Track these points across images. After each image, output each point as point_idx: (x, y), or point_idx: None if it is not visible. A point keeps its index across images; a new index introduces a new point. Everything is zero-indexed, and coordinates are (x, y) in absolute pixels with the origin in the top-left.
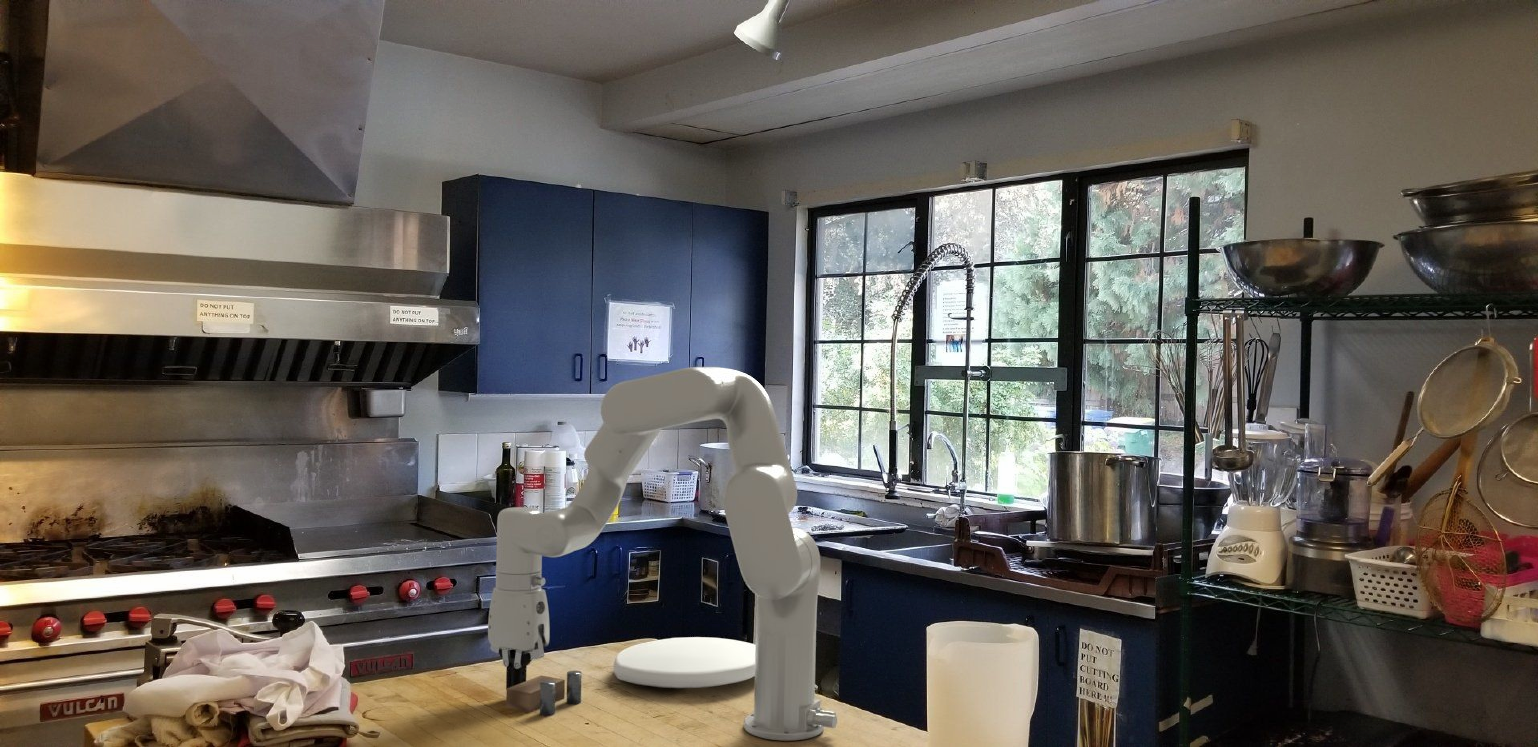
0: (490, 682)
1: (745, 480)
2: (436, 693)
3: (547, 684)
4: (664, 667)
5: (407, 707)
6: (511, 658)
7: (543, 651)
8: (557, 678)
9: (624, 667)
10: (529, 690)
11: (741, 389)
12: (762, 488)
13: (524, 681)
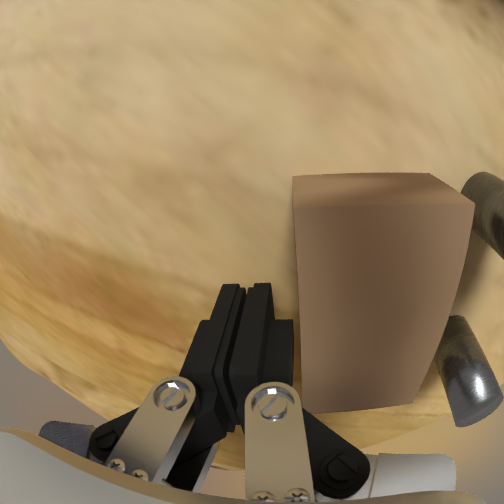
0: (40, 198)
1: None
2: (69, 339)
3: (481, 416)
4: None
5: (130, 410)
6: (195, 444)
7: (453, 487)
8: (431, 207)
9: None
10: (394, 392)
11: None
12: None
13: (292, 335)
